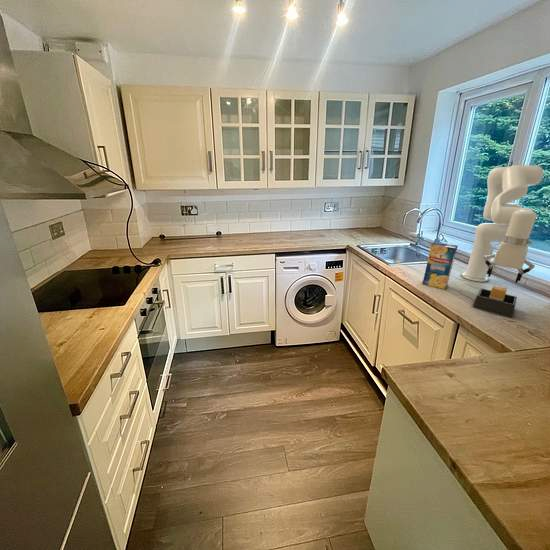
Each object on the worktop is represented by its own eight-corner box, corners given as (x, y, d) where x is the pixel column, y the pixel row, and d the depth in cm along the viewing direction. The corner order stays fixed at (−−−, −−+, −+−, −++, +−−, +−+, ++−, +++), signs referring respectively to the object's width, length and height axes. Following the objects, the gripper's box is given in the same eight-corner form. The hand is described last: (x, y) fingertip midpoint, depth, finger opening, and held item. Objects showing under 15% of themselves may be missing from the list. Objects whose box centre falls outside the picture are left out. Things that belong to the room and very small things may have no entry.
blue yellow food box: (445, 289, 148) (455, 248, 140) (422, 283, 155) (431, 244, 147) (447, 285, 153) (457, 245, 145) (425, 280, 160) (434, 241, 152)
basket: (473, 307, 130) (476, 295, 128) (477, 299, 138) (480, 288, 136) (510, 317, 121) (515, 305, 119) (513, 308, 130) (517, 296, 127)
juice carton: (487, 302, 133) (493, 284, 130) (501, 306, 130) (507, 287, 126) (486, 306, 129) (491, 288, 126) (499, 310, 126) (506, 291, 123)
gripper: (543, 243, 116) (528, 281, 122) (491, 235, 127) (480, 271, 133) (542, 246, 111) (527, 287, 117) (489, 238, 121) (477, 276, 128)
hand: (502, 278), depth 125 cm, fingers open, 9 cm apart
